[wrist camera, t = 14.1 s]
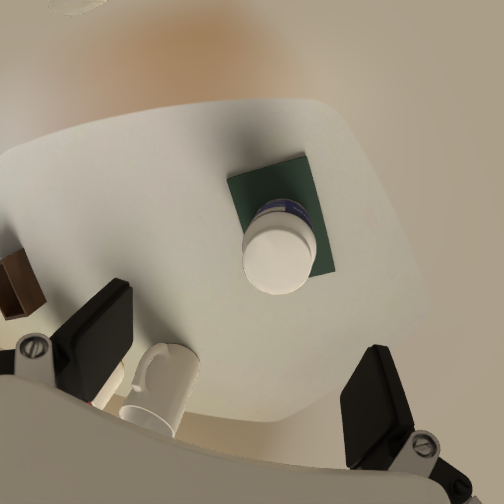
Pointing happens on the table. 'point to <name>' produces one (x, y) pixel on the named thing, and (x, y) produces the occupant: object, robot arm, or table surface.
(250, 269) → the pill bottle
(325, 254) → the mat
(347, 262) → the table surface
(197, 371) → the mug
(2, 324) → the table surface
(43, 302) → the holder
